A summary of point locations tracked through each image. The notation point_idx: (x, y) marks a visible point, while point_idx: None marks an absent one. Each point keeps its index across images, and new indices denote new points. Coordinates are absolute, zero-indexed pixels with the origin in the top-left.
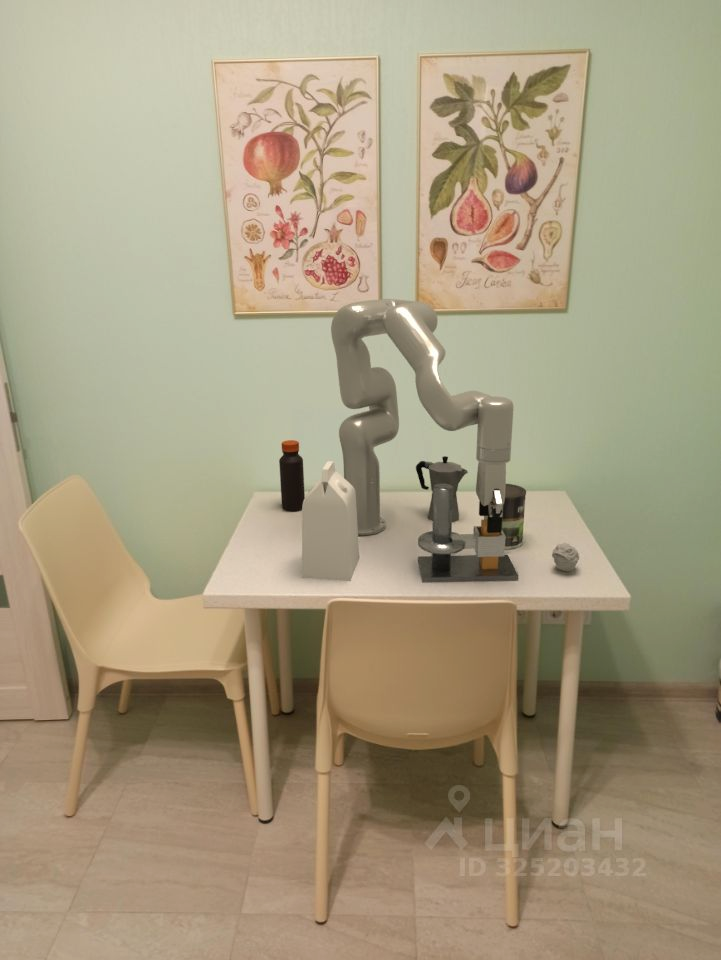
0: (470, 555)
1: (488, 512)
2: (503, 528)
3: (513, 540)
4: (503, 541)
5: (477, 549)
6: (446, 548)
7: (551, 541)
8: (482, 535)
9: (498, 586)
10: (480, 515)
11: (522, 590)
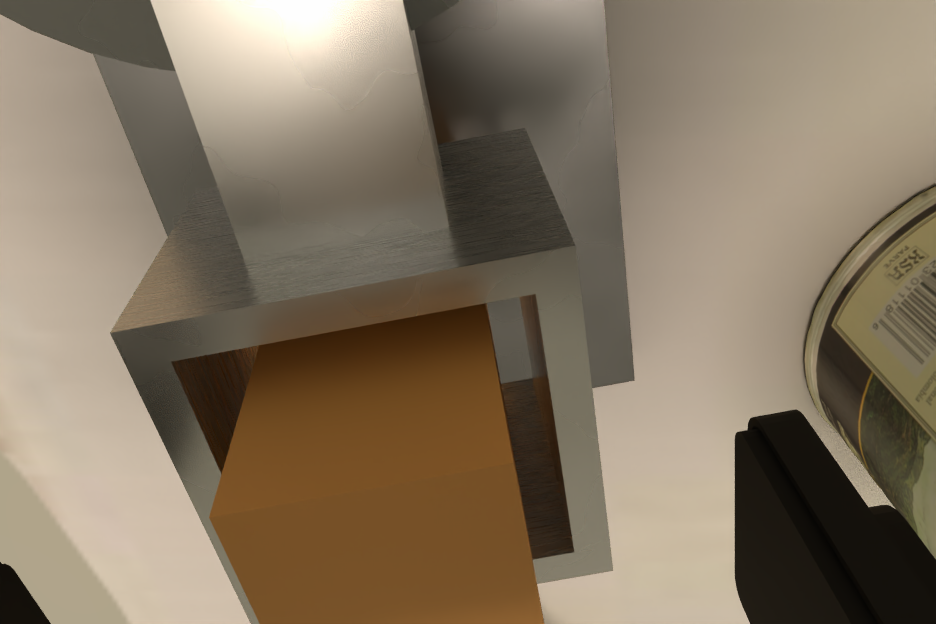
0: (605, 54)
1: (760, 591)
2: (920, 446)
3: (846, 440)
4: None
5: (197, 223)
6: None
7: None
8: (346, 349)
9: (110, 294)
10: (737, 436)
11: (109, 447)
